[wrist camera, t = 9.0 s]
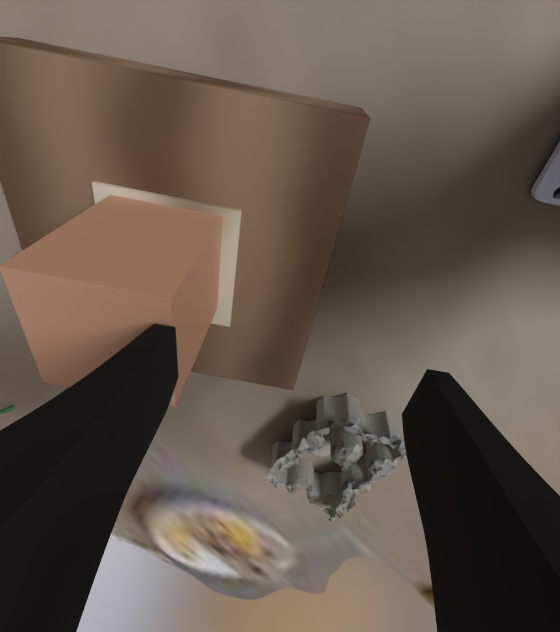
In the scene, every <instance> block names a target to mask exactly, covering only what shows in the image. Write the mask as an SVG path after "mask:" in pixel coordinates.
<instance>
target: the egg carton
mask: <svg viewBox="0 0 560 632" xmlns="http://www.w3.org/2000/svg"><path fill="white" fill-rule="evenodd" d="M329 429H330V430H329ZM329 433H330V442H329V441H325V439H324V435H328V434H329ZM362 440H363V441H364V442H365V443H366V453H365V454H364V455H362V454H363V445H362ZM306 449H308V450H309V452H310V453H311V454H313V455H315V456H328V455H331V458H332V461H334V462H335V463H337V464H338V465H340V467H341V469H342V471H340V472H334V471H330V472H325V473H322V474H320V473H317V472H315V471H313V468H314V466H313V464H312V463H311V462H310V461H308V460H305V459H299V454H300V453H301V452H302V451H303V450H306ZM405 455H407V454H406V450H405V442H404V441H403V440H401V437H400V433H399V429H398V423H397V417H396V415H395V414H393V413H390V412H388V411H384V412H382V413H379V414H374V415H369V414H364V413H362V412H360V411H359V398H358V397H356V396H353V395H351V394H349V393H346V394H344V395H342V396H338V397H329V396H325V395H324V396H322V397H321V398H320V399H319V400H318V401H317V403H316V420H313V421H304V420H298V421H297V422H296V423H295V424H294V425H293V441H292V442H282V441H277V442H276V443H275V444H274V445H273V451H272V461H271V469H270V470H269V472H268V473H267V474H266V475H265V477H264V480H268V481H270V482H271V483H272V484H273V485H274V486H275V487H277V485H282V486H285V487H286V488H287V489H288V491H289V492H290V493H294V492H295V486H296V487H298V488H301V489H305V490H307V496H308V499H309V502H310V503H311V505H312V506H314V507H315V508H317V509H320V510H323V511H324V512H326V513H327V514H329V515H330V517H331V518H330V519H329V520H330V521H332V520H335V519H336V518H337V516H339V518H340V517H342V516H343V515H344V513H345V512H349V511H350V509H352V507H353V506H354V505H356V501H357V497H358V496H359V495H360V494H362V493H364V492H368V491H369V490H370V489H371V487H372V485H373V484H374V483H375V482H377V481H378V480H379V479H380V478H381V477H383V476H386V475H388V474H389V473H390V472H391V471H392V470H393V469H394V468H395V466H396V465H397V464H398V462H399V460H401V459H402V458H403V457H404V456H405Z"/></svg>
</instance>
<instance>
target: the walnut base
mask: <svg viewBox="0 0 560 632" xmlns="http://www.w3.org/2000/svg"><path fill="white" fill-rule="evenodd" d="M369 121H370V118H369V116H368V115H367V114H366V113H365V112H364V110H363V109H362V108H358V107H353V106H348V105H343V104H338V103H333V102H328V101H323V100H319V99H314V98H309V97H304V96H299V95H294V94H289V93H284V92H279V91H275V90H270V89H265V88H260V87H255V86H250V85H245V84H240V83H235V82H231V81H226V80H221V79H216V78H211V77H206V76H201V75H196V74H192V73H187V72H182V71H177V70H172V69H167V68H162V67H157V66H152V65H148V64H143V63H138V62H133V61H128V60H123V59H118V58H113V57H108V56H104V55H99V54H94V53H89V52H84V51H79V50H74V49H69V48H64V47H60V46H55V45H50V44H45V43H40V42H35V41H30V40H25V39H20V38H12V37H0V181H1V184H2V187H3V190H4V193H5V197H6V200H7V203H8V206H9V209H10V212H11V215H12V219H13V222H14V225H15V228H16V231H17V234H18V237H19V240H20V244H21V247H22V250H25V249H26V248H28V247H29V246H31V245H32V244H34V243H35V242H37V241H39V240H40V239H42V238H43V237H45V236H46V235H48V234H50V233H51V232H53V231H54V230H56V229H57V228H59V227H61V226H62V225H64V224H65V223H67V222H68V221H70V220H71V219H73V218H75V217H76V216H78V215H79V214H81V213H82V212H84V211H86V210H87V209H89V208H90V207H92V206H93V205H95V204H97V203H98V202H100V201H101V200H103V199H104V198H106V197H108V196H109V195H114V196H120V197H125V198H130V199H135V200H140V201H146V202H151V203H156V204H161V205H166V206H172V207H177V208H182V209H187V210H193V211H198V212H203V213H208V214H213V215H219V216H223V227H222V243H221V259H220V276H219V292H218V307H217V310H216V312H215V315H214V317H213V319H212V322H211V324H210V326H209V329H208V331H207V334H206V336H205V338H204V341H203V343H202V345H201V348H200V350H199V353H198V355H197V357H196V360H195V362H194V365H193V367H192V369H191V371H193V372H198V373H203V374H209V375H214V376H220V377H225V378H230V379H236V380H241V381H246V382H252V383H257V384H262V385H268V386H273V387H279V388H284V389H289V390H293V389H294V386H295V382H296V379H297V375H298V371H299V368H300V364H301V361H302V357H303V354H304V350H305V347H306V343H307V340H308V336H309V333H310V329H311V326H312V322H313V319H314V315H315V311H316V308H317V304H318V301H319V297H320V294H321V290H322V287H323V283H324V280H325V276H326V273H327V269H328V266H329V262H330V259H331V255H332V251H333V248H334V244H335V241H336V237H337V234H338V230H339V227H340V223H341V220H342V216H343V213H344V209H345V206H346V202H347V199H348V195H349V191H350V188H351V184H352V181H353V177H354V174H355V170H356V167H357V163H358V160H359V156H360V153H361V149H362V146H363V142H364V139H365V135H366V131H367V128H368V124H369Z"/></svg>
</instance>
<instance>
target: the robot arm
mask: <svg viewBox="0 0 560 632" xmlns="http://www.w3.org/2000/svg"><path fill="white" fill-rule="evenodd" d="M559 187H560V142H559V143H558V145H557V147H556V148H555V150H554V152H553V153H552V155H551V157H550V159H549V160H548V162H547V164H546V165H545V167H544V169H543V170H542V172H541V174H540V175H539V177H538V179H537V180H536V182H535V184H534V185H533V188H532V190H531V195H532V196H533V198H534V199H536V200H538V201H540V202H544V203H549V204H554V205H559V206H560V193H559V194H558V195H556V196H553V193H554V191H555V190H556V189H557V188H559ZM178 377H179V374H178V358H177V342H176V327H173V326H167V325H161V324H155V323H154V324H153V325H151V326H150V327H149V328H147V329H146V330H145V331H144V332H142V333H141V334H140V335H139V336H137V337H136V338H135V339H134V340H132V341H131V342H130V343H129V344H127V345H126V346H125V347H123V348H122V349H121V350H120V351H118V352H117V353H116V354H114V355H113V356H112V357H111V358H109V359H108V360H107V361H105V362H104V363H103V364H101V365H100V366H99V367H97V368H96V369H95V370H93V371H92V372H91V373H89V374H88V375H86V376H85V377H84V378H82V379H81V380H79V381H78V382H76V383H75V384H73V385H72V386H71V387H69V388H68V389H66V390H65V391H63V392H62V393H60V394H59V395H57V396H56V397H54V398H53V399H51V400H50V401H48V402H47V403H45V404H44V405H42V406H40V407H39V408H37V409H36V410H34V411H32V412H31V413H29V414H28V415H26V416H24V417H22V418H21V419H19V420H17V421H16V422H14V423H12V424H11V425H9V426H7V427H6V428H4V429H2V430H0V632H76V630H77V628H78V625H79V622H80V619H81V616H82V613H83V610H84V607H85V604H86V601H87V599H88V596H89V593H90V590H91V587H92V584H93V581H94V578H95V575H96V573H97V570H98V567H99V565H100V562H101V559H102V556H103V554H104V551H105V548H106V545H107V543H108V540H109V537H110V535H111V532H112V529H113V527H114V524H115V522H116V519H117V516H118V514H119V511H120V509H121V506H122V503H123V501H124V498H125V496H126V494H127V491H128V489H129V487H130V485H131V482H132V480H133V478H134V476H135V474H136V472H137V470H138V468H139V466H140V464H141V462H142V460H143V458H144V456H145V454H146V452H147V450H148V448H149V446H150V444H151V442H152V440H153V438H154V436H155V434H156V432H157V430H158V428H159V425H160V423H161V421H162V419H163V417H164V415H165V413H166V411H167V409H168V406H169V403H170V401H171V398H172V395H173V392H174V389H175V386H176V383H177V380H178ZM402 421H403V433H404V442H405V450H406V454H407V459H408V464H409V468H410V473H411V477H412V481H413V486H414V490H415V494H416V499H417V503H418V507H419V512H420V516H421V520H422V525H423V529H424V534H425V539H426V544H427V550H428V558H429V565H430V573H431V580H432V588H433V596H434V605H435V614H436V623H437V631H438V632H560V496H559V495H558V494H557V493H556V492H555V491H554V490H553V489H552V488H551V487H550V486H549V485H548V484H547V483H546V482H545V481H544V480H543V478H542V477H541V476H540V475H539V474H538V473H537V472H536V471H535V470H534V469H533V468H532V467H531V466H530V465H529V464H528V463H527V462H526V461H525V460H524V458H523V457H522V456H521V455H520V454H519V453H518V452H517V451H516V450H515V449H514V448H513V446H512V445H511V444H510V443H509V442H508V441H507V440H506V439H505V437H504V436H503V435H502V434H501V433H500V432H499V431H498V429H497V428H496V427H495V426H494V425H493V424H492V422H491V421H490V420H489V419H488V418H487V417H486V415H485V414H484V413H483V412H482V411H481V410H480V408H479V407H478V406H477V405H476V404H475V403H474V401H473V400H472V399H471V398H470V397H469V395H468V394H467V393H466V392H465V391H464V390H463V388H462V387H461V386H460V385H459V384H458V383H457V381H456V380H455V379H454V378H453V377H452V376H451V375H450V374H449V373H447V372H441V371H435V370H429V369H427V371H426V372H425V374H424V376H423V378H422V379H421V381H420V383H419V385H418V387H417V388H416V390H415V392H414V394H413V395H412V397H411V399H410V401H409V403H408V404H407V406H406V408H405V410H404V411H403V413H402Z"/></svg>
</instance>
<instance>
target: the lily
mask: <svg viewBox="0 0 560 632" xmlns="http://www.w3.org/2000/svg"><path fill="white" fill-rule="evenodd" d="M13 409H15V406H11V407H8V408H6V409H3V410H0V414H2V413H5V412H7V411H10V410H13Z"/></svg>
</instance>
